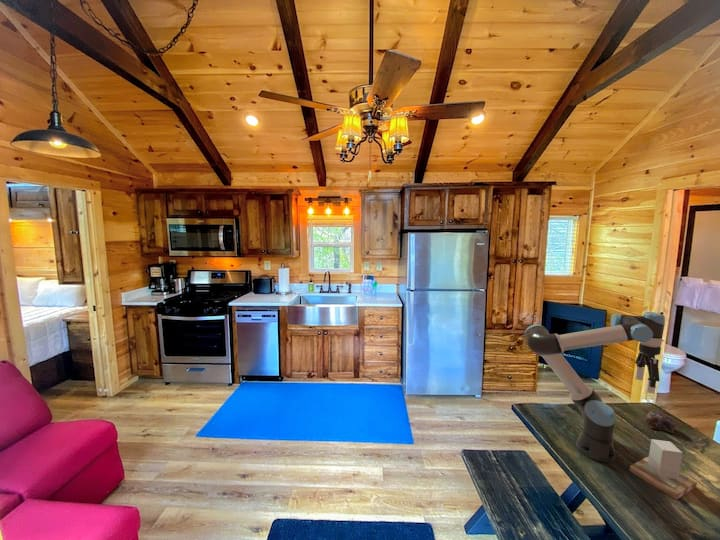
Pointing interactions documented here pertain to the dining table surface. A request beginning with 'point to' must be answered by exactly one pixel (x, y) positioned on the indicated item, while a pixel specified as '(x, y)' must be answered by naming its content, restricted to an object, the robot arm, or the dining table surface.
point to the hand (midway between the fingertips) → (644, 386)
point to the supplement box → (665, 459)
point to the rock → (660, 421)
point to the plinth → (663, 479)
